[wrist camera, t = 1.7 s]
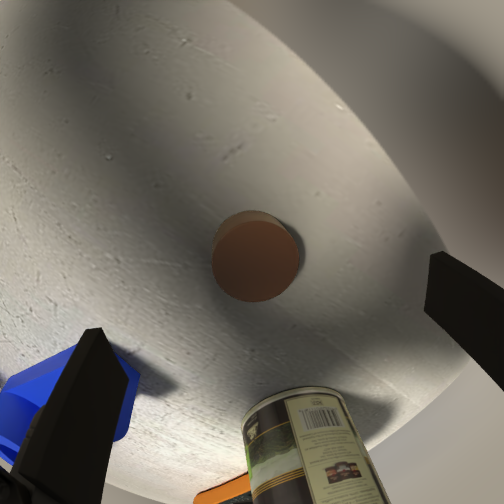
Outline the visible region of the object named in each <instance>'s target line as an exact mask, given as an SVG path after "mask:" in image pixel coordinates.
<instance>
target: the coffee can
mask: <svg viewBox="0 0 504 504" xmlns="http://www.w3.org/2000/svg"><path fill="white" fill-rule="evenodd" d="M241 431H242V434H243V440H244V446H245V453H246V460H247V466H248V473H249V479H250V486H251V493H252V499H253V504H391V502H390V500H389V498H388V496H387V493H386V491H385V489H384V487H383V484H382V483H381V480H380V478H379V476H378V474H377V471H376V469H375V467H374V465H373V463H372V461H371V458H370V456H369V454H368V452H367V449H366V448H365V446H364V444H363V441H362V439H361V437H360V435H359V433H358V431H357V429H356V427H355V425H354V422H353V420H352V418H351V416H350V414H349V412H348V410H347V407H346V405H345V402H344V399H343V397H342V396H341V395H340V394H339V393H337V392H336V391H334V390H331V389H328V388H322V387H303V388H297V389H292V390H288V391H284V392H281V393H279V394H276V395H273V396H271V397H269V398H267V399H265V400H263V401H261V402H260V403H258V404H257V405H255V406H254V407H253V408H252V409H250V410H249V411H248V412H247V414H246V415H245V417H244V418H243V420H242V424H241Z"/></svg>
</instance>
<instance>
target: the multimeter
mask: <svg viewBox="0 0 504 504" xmlns="http://www.w3.org/2000/svg"><path fill="white" fill-rule="evenodd" d="M193 504H253V499H252V493H251V486H250V479H249V473H248V474H246V475H244V476H242V477H240V478H238V479H236V480H233V481H231V482H229V483H227V484H224V485H222V486H220V487H217V488H214V489H212V490H209V491H206V492H203V493H201V494H198V495H196V497H195V498H194V501H193Z"/></svg>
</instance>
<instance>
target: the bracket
mask: <svg viewBox="0 0 504 504" xmlns="http://www.w3.org/2000/svg"><path fill="white" fill-rule="evenodd" d="M76 345H77V344H76ZM76 345H74V346H72V347H70V348H68V349H66V350H64V351H62V352H60V353H58V354H56V355H54V356H52V357H50V358H48V359H46V360H44V361H42V362H40V363H38V364H36V365H34V366H32V367H30V368H28V369H26V370H24V371H22V372H20V373H18V374H16V375H13V376H11V377H10V378H9V379H8V381H7V382H6V384H5V385H4V387H3V389H2V390H1V392H0V457H1V458H2V459H4V460H5V461H6V462H8V463H9V464H10V465H12V466H13V464H14V462H15V459H16V456H17V454H18V451H19V449H20V447H21V444H22V442H23V439H24V438H26V436H25V435H26V432H27V430H28V429H30V427H29V426H30V423H31V421H32V419H33V417H34V415H35V414H36V413H37V411H38V410H39V409H40V408H41V407H42V406H43V405H46V403H47V400H48V398H49V396H50V394H51V392H52V390H53V388H54V386H55V384H56V382H57V380H58V378H59V377H60V375H61V373H62V371H63V369H64V367H65V365H66V363H67V362H68V360H69V358H70V356H71V354H72V352H73V351H74V349H75V347H76ZM114 353H115V352H114ZM115 355H116V357H117V358H118V360H119V362H120V364H121V366H122V367H123V369H124V371H125V373H126V374H127V376H128V378H129V382H128V386H127V390H126V393H125V397H124V400H123V404H122V408H121V412H120V416H119V419H118V423H117V427H116V432H115V436H114V440H113V442H115V441H118V440H120V439H122V438H123V437H124V436H125V435H126V433H127V431H128V428H129V424H130V419H131V414H132V410H133V405H134V401H135V396H136V392H137V387H138V383H139V379H140V375H141V374H139V373H138V372H137V371H136V370H135V369H133V368H132V367H131V366H130V365H129V364H127V363H126V362H125V361H124V360H123V359H122V358H121V357H119V356H118V355H117V354H116V353H115Z"/></svg>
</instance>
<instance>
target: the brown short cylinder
mask: <svg viewBox="0 0 504 504" xmlns="http://www.w3.org/2000/svg"><path fill="white" fill-rule="evenodd" d="M298 266H299V252H298V248H297V245H296V243H295V241H294V239H293V238H292V236H291V235H290V234H289V233H288V231H287V230H286V229H285V228H284V227H283V225H282V224H281V223H280V222H279V221H278V220H277V219H276V218H274V217H273V216H271V215H269V214H267V213H264V212H261V211H244V212H240V213H237V214H235V215H233V216H231V217H229V218H228V219H227V220H225V221H224V222H223V223H222V224H221V226H220V227H219V228H218V230H217V231H216V233H215V236H214V239H213V243H212V271H213V275H214V278H215V280H216V282H217V283H218V285H219V286H220V288H221V289H222V290H223V291H224V292H226V293H227V294H228V295H230V296H231V297H233V298H235V299H238V300H241V301H245V302H261V301H266V300H269V299H271V298H274V297H276V296H278V295H279V294H281V293H282V292H283V291H284V290H285V289H287V288H288V286H289V285H290V284H291V283H292V281H293V280H294V278H295V276H296V273H297V270H298Z"/></svg>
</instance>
